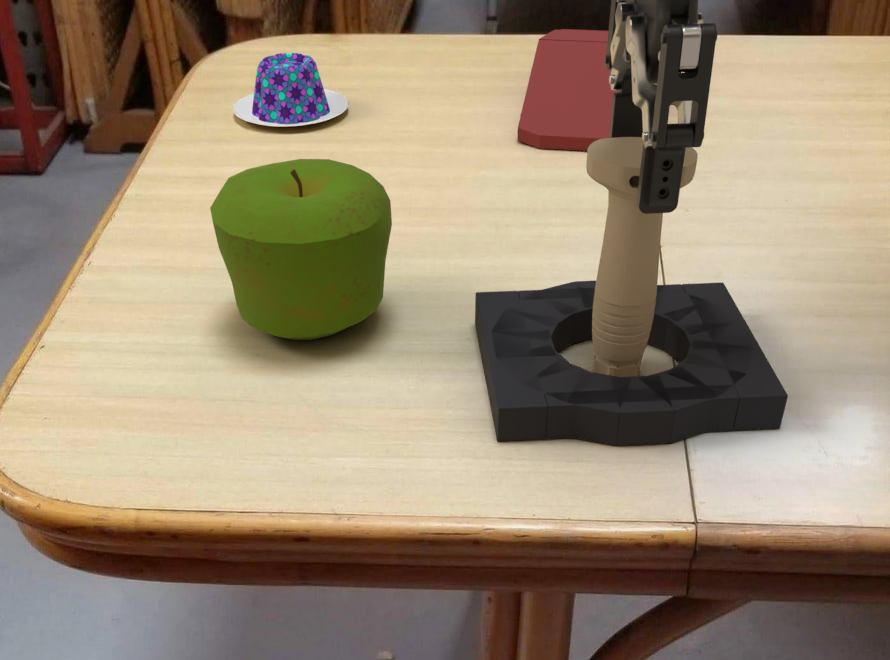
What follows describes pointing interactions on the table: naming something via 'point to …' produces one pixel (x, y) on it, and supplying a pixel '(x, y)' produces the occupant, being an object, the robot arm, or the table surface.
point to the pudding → (289, 94)
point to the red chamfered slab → (568, 92)
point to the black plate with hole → (623, 398)
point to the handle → (625, 257)
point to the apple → (304, 245)
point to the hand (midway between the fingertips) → (640, 181)
